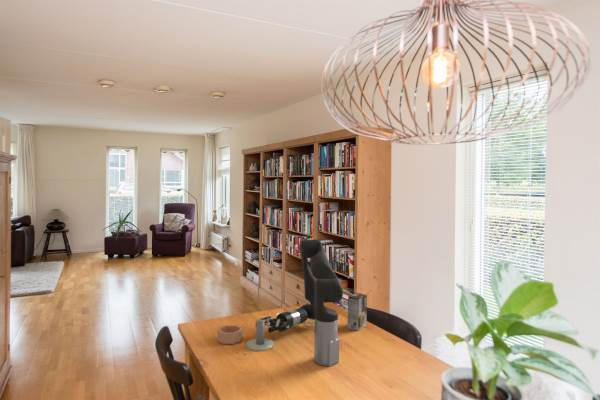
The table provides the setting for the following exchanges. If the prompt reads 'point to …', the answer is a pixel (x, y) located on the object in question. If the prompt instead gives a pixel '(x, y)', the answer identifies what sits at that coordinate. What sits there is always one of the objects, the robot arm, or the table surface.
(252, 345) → the peg on round base
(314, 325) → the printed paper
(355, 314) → the coffee box
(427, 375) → the table surface
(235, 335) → the bowl
